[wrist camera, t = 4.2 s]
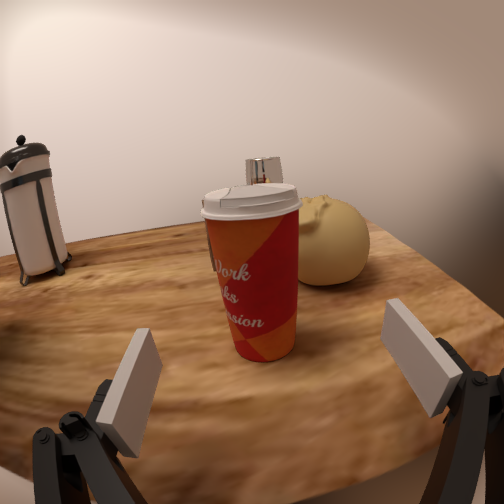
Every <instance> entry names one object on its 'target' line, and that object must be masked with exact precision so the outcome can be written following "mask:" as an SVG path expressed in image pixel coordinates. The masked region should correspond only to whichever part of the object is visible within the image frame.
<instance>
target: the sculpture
mask: <svg viewBox="0 0 504 504" xmlns="http://www.w3.org/2000/svg"><path fill="white" fill-rule="evenodd" d="M300 199H301V200H302V202H303V206H302V207H301V208H299V258H298V279H299V280H300V281H302V282H303V283H306V284H309V285H333V284H339V283H344V282H347V281H350V280H352V279H354V278H355V277H357V276H358V275H359V273H360V272H361V271H362V269H363V268H364V266H365V264H366V261H367V258H368V254H369V248H370V238H369V232H368V228H367V225H366V223H365V220H364V219H363V217H362V215H361V214H360V213H359V212H358V211H357V210H356V209H355V208H354V207H352V206H351V205H349V204H348V203H345V202H343V201H340V200H336V199H332V198H330V197H328V195H321V196H319V197H314V198H308V197H305V198H300Z"/></svg>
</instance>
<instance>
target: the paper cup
mask: <svg viewBox="0 0 504 504" xmlns="http://www.w3.org/2000/svg"><path fill="white" fill-rule="evenodd" d="M302 206H303V202H302V200H301V199H299V198H298V195H297V190H296V188H295V186H293V185H290V184H283V183H262V184H253V185H249V186H248V185H241V186H235V187H234V188H230V191H229V188H223V189H219V190H215V191H212V192H209V193H207V194H206V195H205V197H204V208H203V209H202V210H201V213H200V215H201V216H202V217H204V218H205V219H206V224H207V228H208V233H209V238H210V243H211V247H212V252H213V257H214V261H215V266H216V271H217V275H218V279H219V284H220V288H221V293H222V297H223V301H224V305H225V309H226V314H227V318H228V322H229V326H230V330H231V333H232V337H233V341H234V344H235V347H236V350H237V352H238V353H239V354H240V355H241V356H242V357H244V358H245V359H248V360H250V361H255V362H270V361H275V360H278V359H280V358H282V357H284V356H286V355H287V354H288V353H289V352H290V351H291V350H292V348H293V346H294V343H295V334H296V318H297V295H298V258H299V208H301V207H302Z"/></svg>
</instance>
